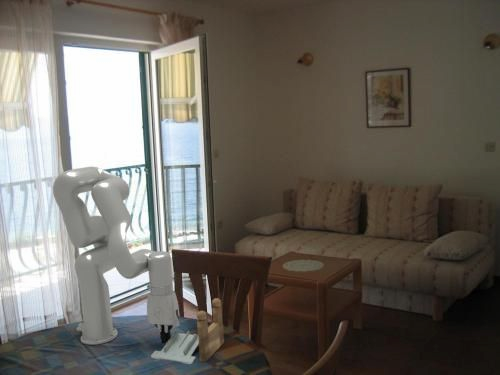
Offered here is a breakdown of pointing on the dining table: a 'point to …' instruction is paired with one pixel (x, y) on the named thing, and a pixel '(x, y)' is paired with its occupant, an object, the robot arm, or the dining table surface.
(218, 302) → the headboard
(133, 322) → the dining table surface
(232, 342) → the dining table surface
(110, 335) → the robot arm
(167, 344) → the metal bracket
